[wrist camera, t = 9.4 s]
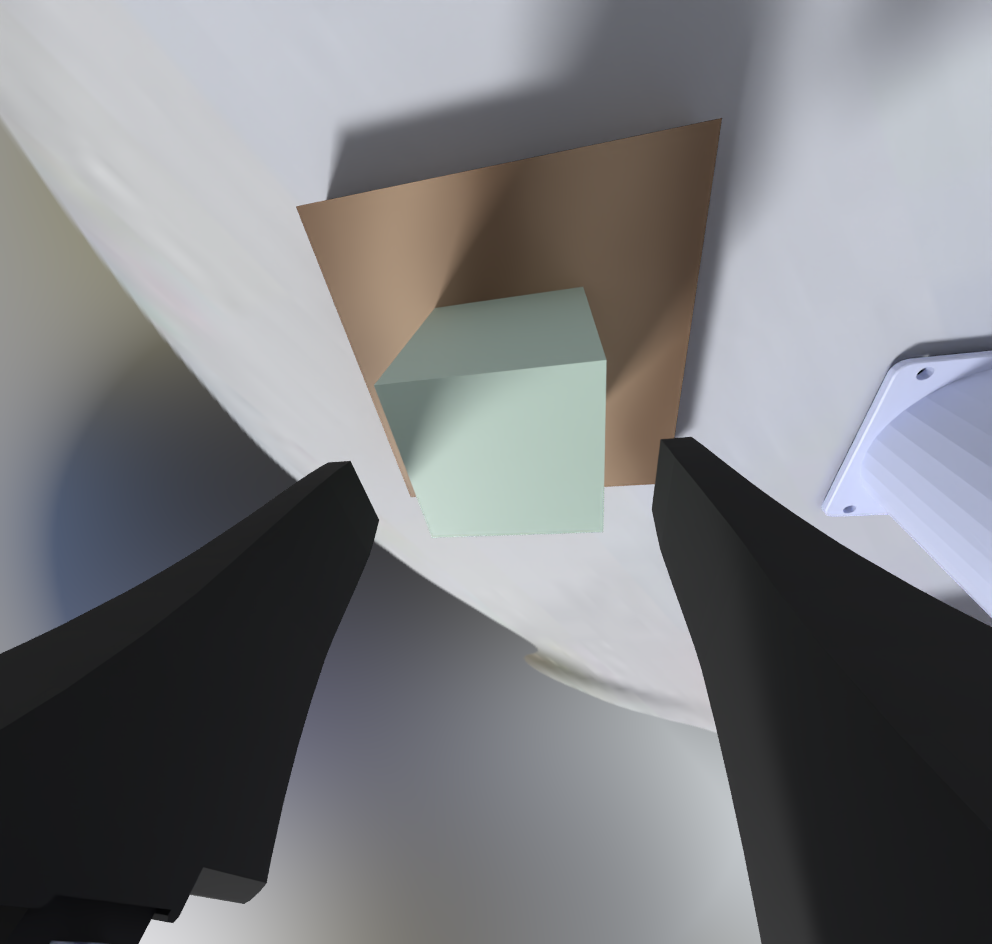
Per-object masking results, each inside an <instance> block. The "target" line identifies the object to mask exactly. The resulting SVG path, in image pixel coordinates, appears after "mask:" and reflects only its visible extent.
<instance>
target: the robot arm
mask: <svg viewBox="0 0 992 944" xmlns="http://www.w3.org/2000/svg"><path fill="white" fill-rule="evenodd" d="M924 368H926V369H925V370H924V371H923V372H922V373H920V374H918V372H919V371H921V370H922V369H924ZM917 374H918V375H917ZM822 510H823V511H824V512H825V514H826V515H828V516H860V515H888V514H889V515H890V516H891V517H892V518H893V519H894V520H895V521H896V522H897V523H898V524H899V525H900V526H901V527H902V528H903V529H904V530H905V531H906V532H907V533H908V534H909V535H910V536H911V537H912V538H913V539H914V540H915V541H916V542H917V543H918V544H919V545H920V546H921V547H922V548H923V549H924V550H925V551H926V552H927V553H928V554H929V555H930V556H931V557H932V558H933V559H934V560H935V561H936V562H937V563H938V564H939V565H940V566H941V567H942V568H943V569H944V570H945V571H946V572H947V573H948V574H949V575H950V576H951V577H952V578H953V579H954V580H955V581H956V582H957V583H958V584H959V586H960V587H961V588H962V589H963V590H964V591H965V592H966V593H967V594H968V595H969V596H970V597H971V598H972V599H973V600H974V601H975V602H976V603H977V604H978V605H979V606H980V607H981V608H982V609H983V610H984V611H985V612H986V613H987V614H988V615H989V616H990V617H991V618H992V351H983V352H973V353H962V354H952V355H942V356H932V357H921V358H911V359H906V360H902V361H900V362H898V363H896V364H895V365H894V366H893V367H891V369H890V370H889V371H888V373H887V375H886V377H885V379H884V381H883V383H882V385H881V387H880V389H879V391H878V393H877V395H876V397H875V399H874V401H873V403H872V405H871V407H870V409H869V411H868V413H867V415H866V417H865V419H864V421H863V423H862V425H861V427H860V429H859V431H858V433H857V436H856V438H855V440H854V442H853V444H852V446H851V448H850V450H849V452H848V454H847V456H846V458H845V460H844V462H843V464H842V466H841V468H840V470H839V472H838V474H837V476H836V478H835V480H834V482H833V484H832V486H831V488H830V490H829V492H828V494H827V496H826V498H825V500H824V502H823V504H822ZM652 512H653V517H654V522H655V527H656V532H657V537H658V541H659V546H660V550H661V553H662V556H663V559H664V562H665V565H666V567H667V570H668V573H669V576H670V579H671V582H672V585H673V587H674V590H675V593H676V596H677V599H678V601H679V604H680V607H681V610H682V613H683V615H684V618H685V621H686V624H687V627H688V630H689V632H690V635H691V638H692V641H693V644H694V646H695V650H696V653H697V656H698V659H699V663H700V666H701V669H702V673H703V677H704V681H705V685H706V689H707V693H708V697H709V701H710V705H711V709H712V713H713V717H714V721H715V725H716V729H717V734H718V738H719V742H720V746H721V751H722V755H723V760H724V764H725V768H726V772H727V777H728V781H729V785H730V790H731V795H732V799H733V804H734V809H735V813H736V818H737V823H738V828H739V832H740V837H741V841H742V846H743V850H744V855H745V860H746V866H747V871H748V876H749V881H750V886H751V891H752V896H753V901H754V906H755V911H756V917H757V922H758V926H759V932H760V937H761V943H762V944H992V627H990V626H988V625H986V624H984V623H982V622H980V621H978V620H976V619H974V618H972V617H970V616H969V615H967V614H965V613H963V612H961V611H959V610H957V609H955V608H953V607H951V606H949V605H947V604H945V603H943V602H942V601H940V600H938V599H936V598H934V597H932V596H930V595H928V594H927V593H925V592H923V591H921V590H919V589H917V588H916V587H914V586H912V585H910V584H908V583H907V582H905V581H903V580H901V579H900V578H898V577H896V576H894V575H893V574H891V573H889V572H888V571H886V570H884V569H882V568H881V567H879V566H877V565H875V564H874V563H872V562H870V561H868V560H867V559H865V558H863V557H861V556H860V555H858V554H856V553H855V552H853V551H851V550H850V549H848V548H847V547H845V546H843V545H842V544H840V543H838V542H837V541H835V540H834V539H832V538H831V537H829V536H828V535H826V534H824V533H823V532H821V531H820V530H818V529H817V528H815V527H814V526H812V525H811V524H809V523H808V522H806V521H805V520H803V519H802V518H800V517H799V516H797V515H796V514H794V513H793V512H791V511H790V510H788V509H787V508H786V507H784V506H783V505H781V504H780V503H778V502H777V501H776V500H774V499H773V498H771V497H770V496H769V495H767V494H766V493H764V492H763V491H762V490H760V489H759V488H758V487H756V486H755V485H754V484H752V483H751V482H750V481H748V480H747V479H746V478H744V477H743V476H742V475H740V474H739V473H738V472H736V471H735V470H734V469H733V468H731V467H730V466H729V465H727V464H726V463H725V462H724V461H722V460H721V459H720V458H718V457H717V456H716V455H715V454H713V453H712V452H711V451H709V450H708V449H707V448H706V447H704V446H703V445H702V444H700V443H699V442H698V441H696V440H695V439H694V438H692V437H684V438H670V439H660V447H659V455H658V464H657V472H656V480H655V488H654V496H653V504H652ZM378 522H379V519H378V517H377V515H376V513H375V511H374V509H373V507H372V504H371V502H370V500H369V498H368V496H367V494H366V492H365V490H364V488H363V486H362V484H361V482H360V480H359V478H358V476H357V474H356V471H355V469H354V467H353V465H352V463H351V461H344V462H330V463H327V464H325V465H323V466H321V467H319V468H318V469H316V470H315V471H313V472H311V473H310V474H308V475H307V476H305V477H304V478H302V479H301V480H299V481H298V482H296V483H295V484H294V485H292V486H291V487H289V488H288V489H286V490H285V491H283V492H282V493H281V494H279V495H278V496H276V497H275V498H274V499H272V500H271V501H269V502H268V503H266V504H265V505H264V506H262V507H261V508H259V509H258V510H257V511H255V512H254V513H252V514H251V515H249V516H248V517H246V518H245V519H243V520H242V521H240V522H239V523H237V524H236V525H235V526H233V527H231V528H230V529H228V530H227V531H225V532H224V533H223V534H221V535H219V536H218V537H216V538H215V539H213V540H212V541H210V542H209V543H207V544H206V545H204V546H203V547H201V548H200V549H198V550H197V551H195V552H193V553H192V554H190V555H189V556H187V557H185V558H184V559H182V560H180V561H179V562H177V563H175V564H174V565H172V566H171V567H169V568H167V569H165V570H164V571H162V572H160V573H159V574H157V575H155V576H153V577H151V578H150V579H148V580H146V581H145V582H143V583H141V584H139V585H138V586H136V587H134V588H132V589H130V590H128V591H127V592H125V593H123V594H121V595H119V596H117V597H115V598H114V599H111V600H109V601H107V602H105V603H104V604H102V605H100V606H98V607H96V608H94V609H92V610H90V611H88V612H86V613H84V614H82V615H80V616H78V617H76V618H74V619H73V620H70V621H69V622H67V623H65V624H63V625H61V626H59V627H57V628H55V629H53V630H50V631H48V632H46V633H44V634H42V635H40V636H38V637H36V638H34V639H32V640H29V641H28V642H25V643H23V644H21V645H19V646H16V647H14V648H12V649H10V650H8V651H5V652H3V653H2V654H0V944H138V943H139V942H140V940H141V938H142V936H143V934H144V932H145V930H146V928H147V926H148V924H149V923H150V921H151V919H154V920H159V921H164V922H171V923H173V922H174V921H175V920H176V919H177V918H178V917H179V915H180V913H181V911H182V909H183V907H184V905H185V903H186V901H187V899H188V897H189V895H194V896H201V897H206V898H212V899H219V900H224V901H230V902H236V903H242V904H245V903H246V902H248V901H250V900H251V899H252V898H253V897H254V896H255V895H256V894H257V893H259V892H260V891H261V889H262V888H263V887H264V886H265V884H266V883H267V878H268V873H269V867H270V862H271V857H272V853H273V848H274V843H275V839H276V834H277V829H278V825H279V820H280V816H281V811H282V806H283V802H284V798H285V794H286V791H287V786H288V783H289V779H290V775H291V771H292V767H293V763H294V759H295V755H296V752H297V747H298V744H299V740H300V737H301V734H302V731H303V727H304V724H305V720H306V717H307V713H308V710H309V707H310V703H311V700H312V697H313V694H314V691H315V688H316V685H317V682H318V679H319V675H320V673H321V670H322V666H323V664H324V660H325V658H326V655H327V652H328V650H329V647H330V645H331V642H332V640H333V638H334V635H335V633H336V631H337V629H338V626H339V624H340V622H341V619H342V617H343V615H344V613H345V611H346V608H347V606H348V604H349V601H350V599H351V597H352V595H353V593H354V590H355V588H356V586H357V583H358V581H359V579H360V577H361V574H362V572H363V569H364V567H365V565H366V562H367V560H368V557H369V555H370V551H371V548H372V545H373V542H374V538H375V534H376V530H377V526H378Z"/></svg>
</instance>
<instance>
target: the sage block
mask: <svg viewBox="0 0 992 944" xmlns="http://www.w3.org/2000/svg"><path fill="white" fill-rule="evenodd" d="M606 362H607V360H606V357H605V354H604V350H603V347H602V344H601V341H600V338H599V335H598V332H597V328H596V325H595V322H594V319H593V316H592V313H591V310H590V307H589V303H588V300H587V297H586V294H585V291H584V288H583V287H577V288H570V289H563V290H556V291H550V292H543V293H536V294H529V295H522V296H515V297H508V298H501V299H494V300H487V301H480V302H473V303H466V304H459V305H452V306H445V307H438V308H434V310H433V311H432V312H431V313H430V315H429V316H428V317H427V318H426V320H425V321H424V322H423V324H422V325H421V326H420V327H419V329H418V330H417V331H416V332H415V334H414V335H413V336H412V338H411V339H410V340H409V341H408V343H407V344H406V345H405V346H404V348H403V349H402V350H401V352H400V353H399V354H398V355H397V357H396V358H395V359H394V360H393V362H392V363H391V364H390V366H389V367H388V368H387V369H386V371H385V372H384V373H383V374H382V376H381V377H380V378H379V380H378V381H377V382H376V383H375V385H374V387H375V390H376V392H377V395H378V397H379V400H380V403H381V405H382V408H383V410H384V413H385V416H386V418H387V421H388V424H389V426H390V429H391V431H392V434H393V437H394V439H395V442H396V445H397V447H398V450H399V452H400V455H401V458H402V460H403V463H404V465H405V468H406V471H407V473H408V476H409V479H410V481H411V484H412V486H413V489H414V492H415V494H416V497H417V500H418V502H419V505H420V507H421V510H422V513H423V515H424V518H425V521H426V523H427V526H428V528H429V531H430V534H431V536H432V538H440V537H470V536H501V535H532V534H562V533H593V532H603V519H604V466H605V414H606Z"/></svg>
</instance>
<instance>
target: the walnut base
mask: <svg viewBox="0 0 992 944" xmlns="http://www.w3.org/2000/svg"><path fill="white" fill-rule="evenodd" d="M721 121H722V118H720V119H715V120H710V121H705V122H701V123H696V124H691V125H686V126H681V127H677V128H672V129H667V130H662V131H657V132H652V133H648V134H643V135H638V136H633V137H628V138H624V139H619V140H614V141H609V142H604V143H600V144H595V145H590V146H585V147H580V148H575V149H571V150H566V151H561V152H556V153H551V154H547V155H542V156H537V157H532V158H527V159H523V160H518V161H513V162H508V163H503V164H498V165H494V166H489V167H484V168H479V169H474V170H470V171H465V172H460V173H455V174H450V175H445V176H441V177H436V178H431V179H426V180H421V181H417V182H412V183H407V184H402V185H397V186H393V187H388V188H383V189H378V190H373V191H368V192H364V193H359V194H354V195H349V196H344V197H340V198H335V199H330V200H325V201H320V202H316V203H311V204H306V205H301V206H296V208H297V210H298V213H299V215H300V218H301V221H302V223H303V226H304V228H305V231H306V233H307V236H308V238H309V241H310V243H311V246H312V248H313V251H314V253H315V256H316V258H317V261H318V264H319V266H320V269H321V271H322V274H323V276H324V279H325V281H326V284H327V286H328V289H329V291H330V294H331V296H332V299H333V302H334V304H335V307H336V309H337V312H338V314H339V317H340V319H341V322H342V324H343V327H344V329H345V332H346V334H347V337H348V339H349V342H350V345H351V347H352V350H353V352H354V355H355V357H356V360H357V362H358V365H359V367H360V370H361V372H362V375H363V377H364V380H365V383H366V385H367V388H368V390H369V393H370V395H371V398H372V400H373V403H374V405H375V408H376V410H377V413H378V415H379V418H380V420H381V423H382V426H383V428H384V431H385V433H386V436H387V438H388V441H389V443H390V446H391V448H392V451H393V453H394V456H395V458H396V461H397V464H398V466H399V469H400V471H401V474H402V476H403V479H404V481H405V484H406V486H407V489H408V491H409V494H410V496H411V497H416V494H415V492H414V489H413V486H412V484H411V481H410V479H409V476H408V473H407V471H406V468H405V465H404V463H403V460H402V458H401V455H400V452H399V450H398V447H397V445H396V442H395V439H394V437H393V434H392V431H391V429H390V426H389V424H388V421H387V418H386V416H385V413H384V410H383V408H382V405H381V403H380V400H379V397H378V395H377V392H376V390H375V387H374V385H375V383H376V382H377V381H378V380H379V378H380V377H381V376H382V374H383V373H384V372H385V371H386V369H387V368H388V367H389V366H390V364H391V363H392V362H393V360H394V359H395V358H396V357H397V355H398V354H399V353H400V352H401V350H402V349H403V348H404V346H405V345H406V344H407V343H408V341H409V340H410V339H411V338H412V336H413V335H414V334H415V332H416V331H417V330H418V329H419V327H420V326H421V325H422V324H423V322H424V321H425V320H426V318H427V317H428V316H429V315H430V313H431V312H432V311H433V310H434V308H438V307H445V306H452V305H459V304H466V303H473V302H480V301H487V300H494V299H501V298H508V297H515V296H522V295H529V294H536V293H543V292H550V291H556V290H563V289H570V288H577V287H583V288H584V291H585V294H586V297H587V300H588V303H589V307H590V310H591V313H592V316H593V319H594V322H595V325H596V328H597V332H598V335H599V338H600V341H601V344H602V347H603V350H604V354H605V357H606V360H607V362H606V414H605V466H604V487H609V486H628V485H647V484H655V480H656V472H657V464H658V455H659V447H660V439H670V438H674V436H675V429H676V422H677V416H678V409H679V402H680V396H681V389H682V382H683V375H684V369H685V362H686V355H687V349H688V342H689V335H690V329H691V322H692V315H693V309H694V302H695V295H696V289H697V282H698V275H699V268H700V262H701V255H702V248H703V242H704V235H705V228H706V222H707V215H708V208H709V202H710V195H711V188H712V181H713V175H714V168H715V161H716V155H717V148H718V141H719V135H720V128H721Z"/></svg>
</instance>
